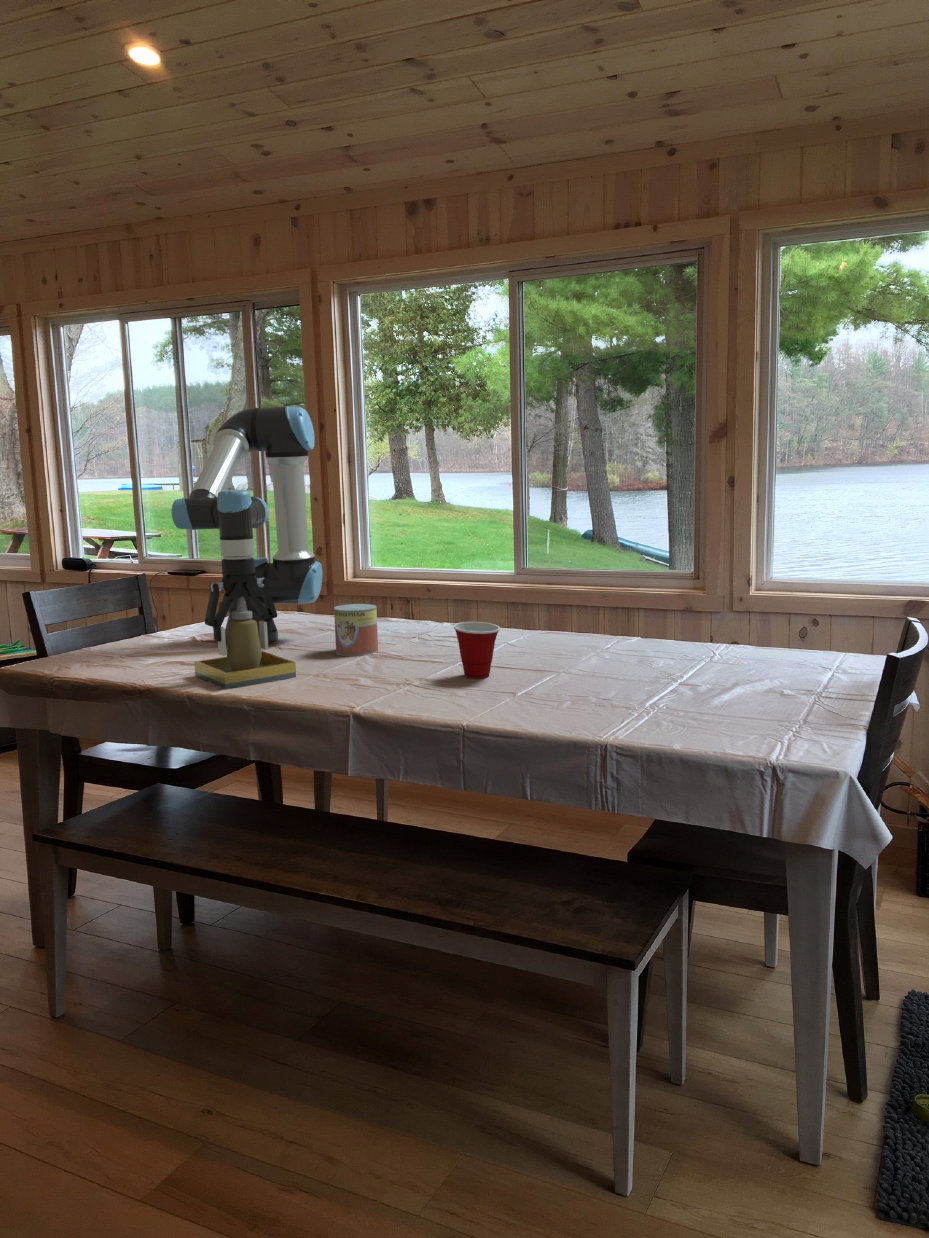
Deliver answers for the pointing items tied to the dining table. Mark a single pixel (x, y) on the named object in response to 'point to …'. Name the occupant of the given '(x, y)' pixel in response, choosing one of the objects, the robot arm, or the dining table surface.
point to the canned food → (356, 629)
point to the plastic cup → (476, 647)
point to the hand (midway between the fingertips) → (243, 651)
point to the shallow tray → (244, 671)
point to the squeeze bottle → (243, 639)
